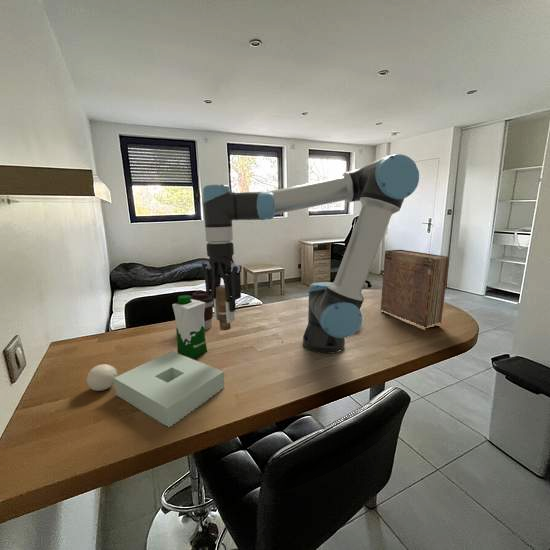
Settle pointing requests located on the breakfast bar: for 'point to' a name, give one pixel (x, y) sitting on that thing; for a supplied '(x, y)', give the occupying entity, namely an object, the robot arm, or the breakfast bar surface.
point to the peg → (222, 307)
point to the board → (169, 386)
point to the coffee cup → (208, 307)
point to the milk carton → (190, 326)
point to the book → (414, 286)
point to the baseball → (101, 377)
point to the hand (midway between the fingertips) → (224, 319)
